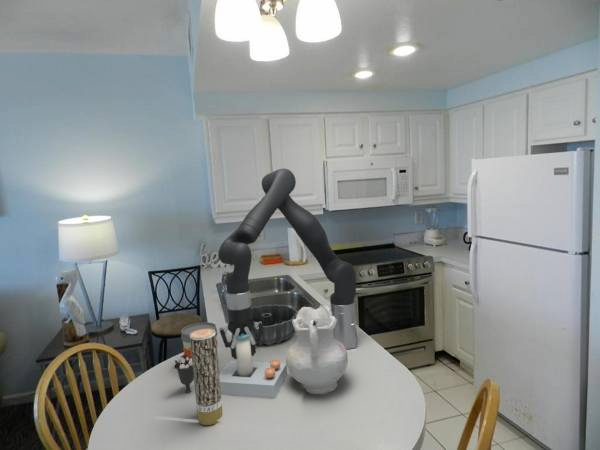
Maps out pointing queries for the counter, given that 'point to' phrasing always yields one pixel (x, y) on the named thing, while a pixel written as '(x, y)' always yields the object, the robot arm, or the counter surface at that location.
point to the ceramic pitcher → (316, 351)
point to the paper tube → (206, 376)
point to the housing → (251, 381)
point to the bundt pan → (274, 322)
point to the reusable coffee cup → (191, 328)
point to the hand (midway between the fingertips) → (243, 356)
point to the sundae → (185, 370)
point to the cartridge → (243, 355)
